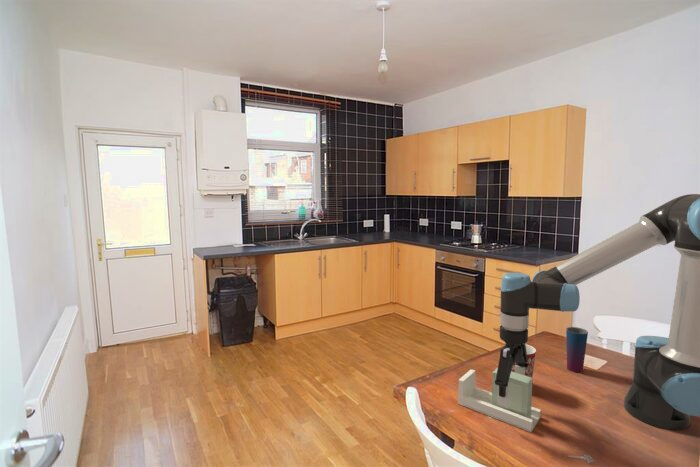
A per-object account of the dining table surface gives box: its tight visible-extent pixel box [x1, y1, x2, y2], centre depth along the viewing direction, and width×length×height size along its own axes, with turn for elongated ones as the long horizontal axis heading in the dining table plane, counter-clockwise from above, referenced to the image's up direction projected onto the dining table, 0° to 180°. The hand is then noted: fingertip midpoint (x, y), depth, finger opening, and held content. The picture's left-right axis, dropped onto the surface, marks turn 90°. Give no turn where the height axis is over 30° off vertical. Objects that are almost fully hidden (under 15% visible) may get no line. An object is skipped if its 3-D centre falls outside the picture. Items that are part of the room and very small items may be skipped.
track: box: [457, 369, 542, 433], centre depth 113 cm, size 22×9×8 cm, turn 48°
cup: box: [565, 326, 589, 374], centre depth 138 cm, size 7×7×15 cm
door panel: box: [491, 367, 534, 418], centre depth 111 cm, size 10×4×12 cm, turn 48°
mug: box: [502, 343, 537, 378], centre depth 129 cm, size 13×9×14 cm
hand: (511, 396), depth 111 cm, fingers open, 13 cm apart
